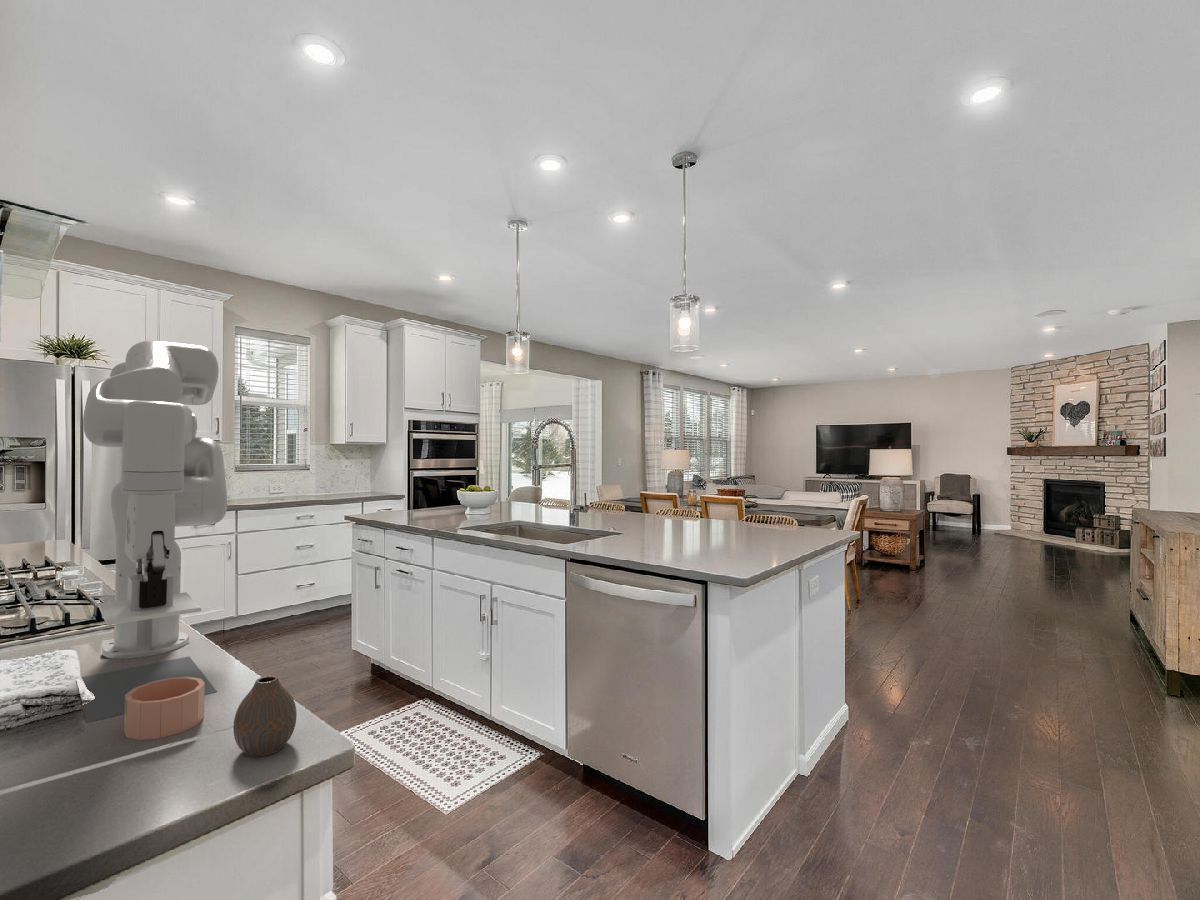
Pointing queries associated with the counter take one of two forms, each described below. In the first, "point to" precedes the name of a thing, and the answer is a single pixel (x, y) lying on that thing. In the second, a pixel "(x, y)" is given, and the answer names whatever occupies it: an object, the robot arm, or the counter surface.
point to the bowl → (163, 707)
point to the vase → (265, 718)
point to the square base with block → (132, 611)
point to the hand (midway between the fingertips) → (150, 602)
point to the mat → (133, 685)
